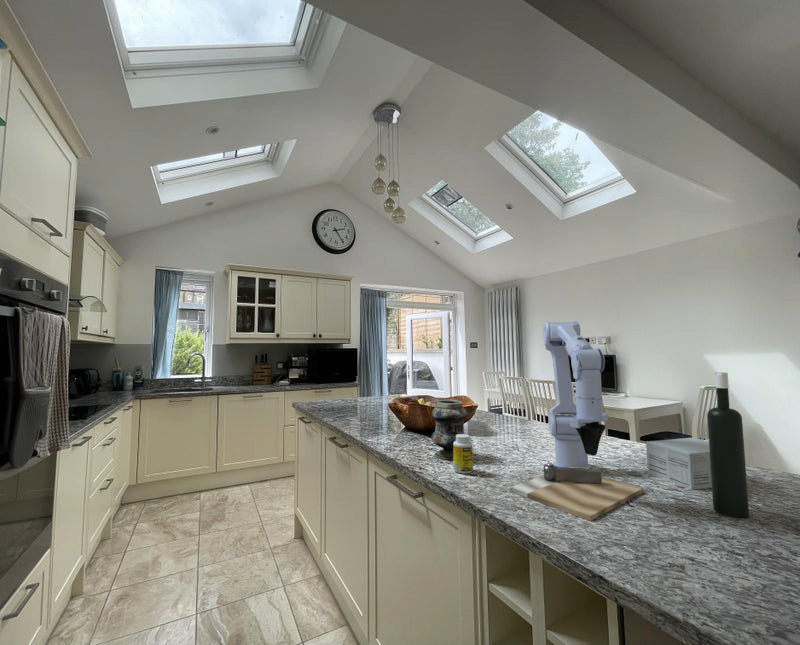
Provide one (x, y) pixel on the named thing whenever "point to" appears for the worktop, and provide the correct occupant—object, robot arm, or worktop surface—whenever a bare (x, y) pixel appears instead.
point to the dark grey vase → (448, 426)
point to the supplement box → (680, 462)
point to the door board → (578, 495)
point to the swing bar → (572, 474)
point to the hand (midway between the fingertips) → (591, 454)
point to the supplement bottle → (463, 454)
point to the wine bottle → (727, 455)
